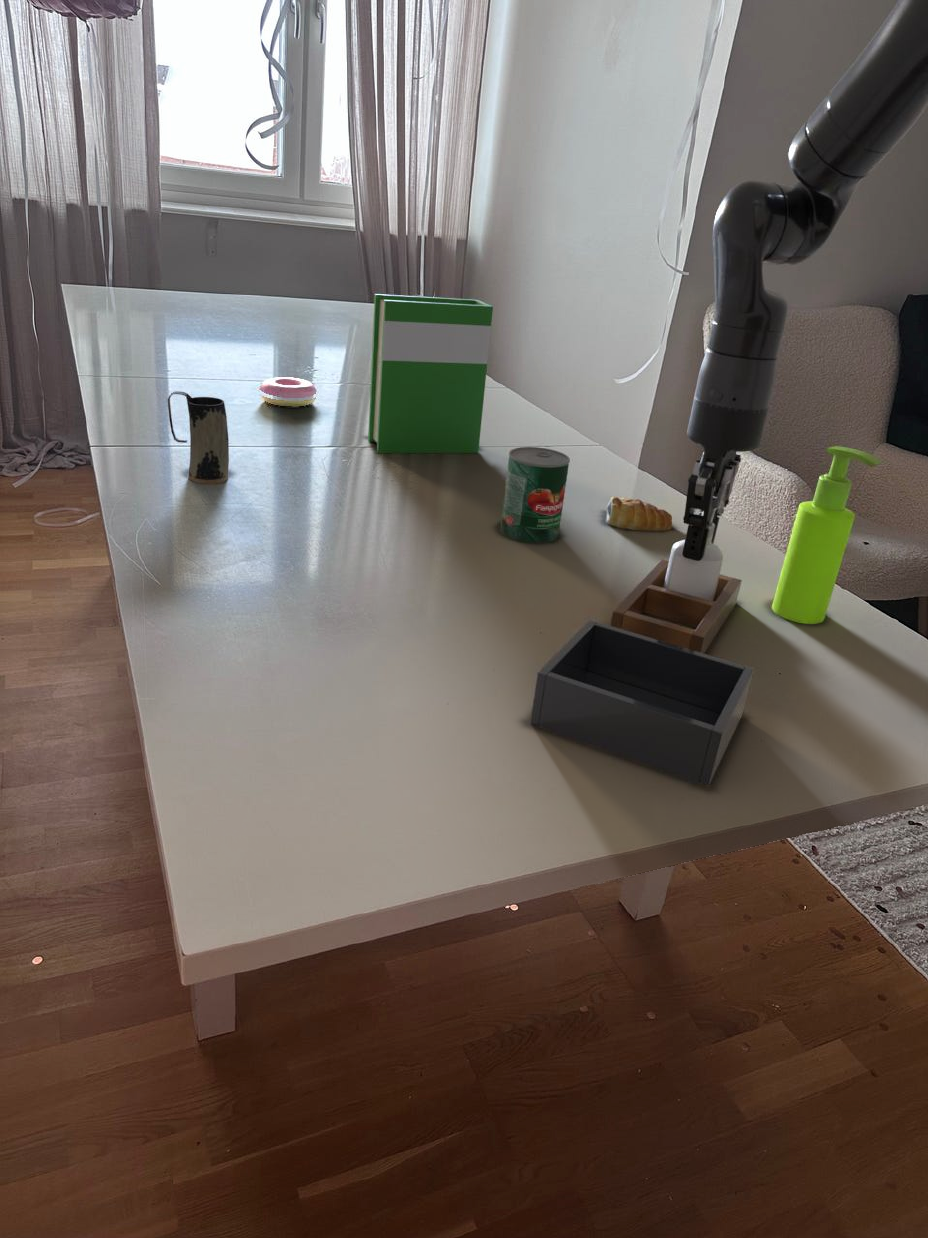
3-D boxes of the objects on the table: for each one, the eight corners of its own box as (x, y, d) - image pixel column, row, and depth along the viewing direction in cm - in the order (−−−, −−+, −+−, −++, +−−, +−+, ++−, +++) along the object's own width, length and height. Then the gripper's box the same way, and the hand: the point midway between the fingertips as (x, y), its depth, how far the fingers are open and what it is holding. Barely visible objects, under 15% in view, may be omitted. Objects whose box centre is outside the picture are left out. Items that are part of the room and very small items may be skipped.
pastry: (666, 521, 130) (671, 496, 128) (673, 538, 124) (679, 512, 122) (602, 514, 130) (606, 489, 129) (606, 531, 124) (611, 505, 122)
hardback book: (377, 452, 148) (385, 300, 137) (368, 440, 154) (374, 293, 144) (478, 452, 154) (493, 306, 143) (464, 440, 160) (478, 299, 149)
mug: (231, 472, 132) (229, 390, 126) (227, 484, 127) (225, 399, 122) (175, 470, 131) (171, 387, 125) (169, 481, 126) (164, 396, 120)
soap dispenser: (816, 636, 100) (868, 461, 91) (761, 612, 104) (805, 444, 95) (840, 623, 103) (893, 454, 95) (786, 601, 108) (832, 438, 99)
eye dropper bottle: (700, 624, 100) (724, 522, 94) (654, 608, 102) (674, 508, 97) (714, 611, 103) (738, 513, 98) (669, 596, 106) (690, 500, 100)
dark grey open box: (740, 721, 82) (754, 668, 79) (706, 792, 71) (722, 733, 69) (580, 670, 88) (589, 619, 85) (529, 728, 77) (537, 672, 75)
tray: (735, 607, 105) (742, 579, 103) (696, 668, 90) (704, 637, 89) (656, 585, 108) (661, 558, 107) (607, 640, 94) (612, 611, 92)
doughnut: (326, 408, 172) (326, 386, 170) (271, 410, 166) (271, 388, 164) (303, 394, 180) (303, 373, 178) (250, 396, 174) (250, 375, 172)
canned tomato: (546, 551, 115) (558, 468, 110) (490, 537, 118) (499, 456, 113) (566, 533, 122) (578, 454, 117) (512, 520, 124) (522, 443, 120)
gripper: (755, 416, 85) (715, 581, 92) (781, 394, 96) (744, 542, 104) (678, 401, 88) (646, 563, 95) (712, 381, 99) (681, 527, 107)
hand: (697, 551), depth 100 cm, fingers closed on eye dropper bottle, 4 cm apart
